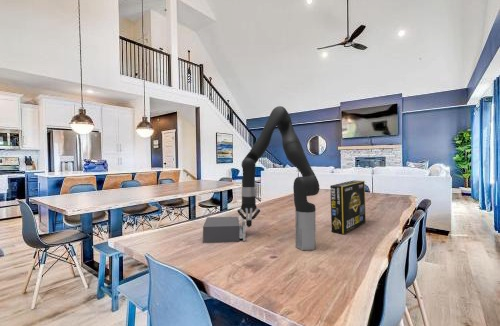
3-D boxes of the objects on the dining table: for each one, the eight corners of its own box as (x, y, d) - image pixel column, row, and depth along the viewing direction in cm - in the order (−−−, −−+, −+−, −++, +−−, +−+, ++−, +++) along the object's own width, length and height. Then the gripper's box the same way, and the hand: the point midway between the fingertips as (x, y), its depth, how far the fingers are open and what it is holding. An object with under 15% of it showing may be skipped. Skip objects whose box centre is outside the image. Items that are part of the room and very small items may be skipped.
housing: (238, 230, 149) (238, 216, 149) (239, 241, 129) (239, 225, 129) (207, 231, 148) (207, 217, 148) (203, 242, 128) (203, 226, 128)
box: (344, 235, 138) (344, 185, 137) (329, 232, 144) (329, 184, 143) (366, 223, 163) (366, 181, 162) (353, 220, 168) (353, 180, 167)
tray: (244, 229, 149) (244, 216, 149) (245, 240, 129) (245, 225, 129) (213, 230, 148) (212, 217, 148) (209, 242, 128) (209, 226, 128)
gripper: (260, 193, 143) (260, 224, 144) (236, 194, 142) (236, 225, 143) (261, 195, 136) (261, 228, 136) (236, 196, 135) (236, 229, 135)
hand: (248, 226), depth 140 cm, fingers closed
